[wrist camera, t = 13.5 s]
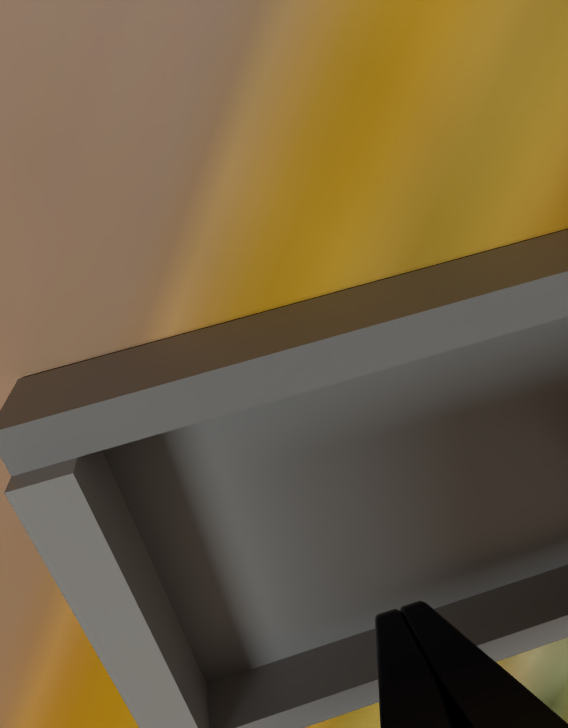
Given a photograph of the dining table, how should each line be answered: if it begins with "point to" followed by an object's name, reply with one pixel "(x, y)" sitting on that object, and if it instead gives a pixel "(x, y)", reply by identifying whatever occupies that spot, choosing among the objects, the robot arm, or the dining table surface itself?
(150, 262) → the dining table surface
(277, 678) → the tray
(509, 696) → the robot arm
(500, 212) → the dining table surface
